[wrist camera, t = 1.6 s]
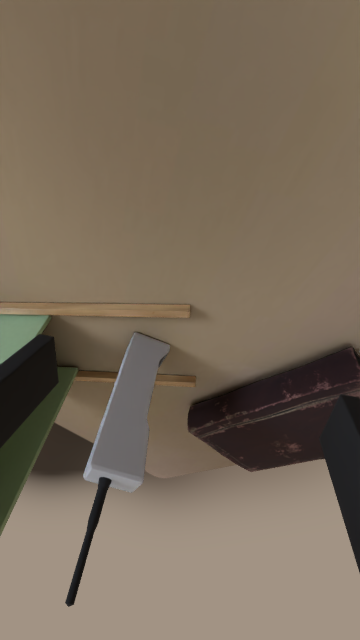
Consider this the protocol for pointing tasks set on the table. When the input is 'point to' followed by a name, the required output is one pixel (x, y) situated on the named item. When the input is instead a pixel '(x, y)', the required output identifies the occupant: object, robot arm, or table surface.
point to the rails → (107, 310)
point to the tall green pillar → (26, 443)
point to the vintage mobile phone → (122, 435)
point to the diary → (277, 414)
